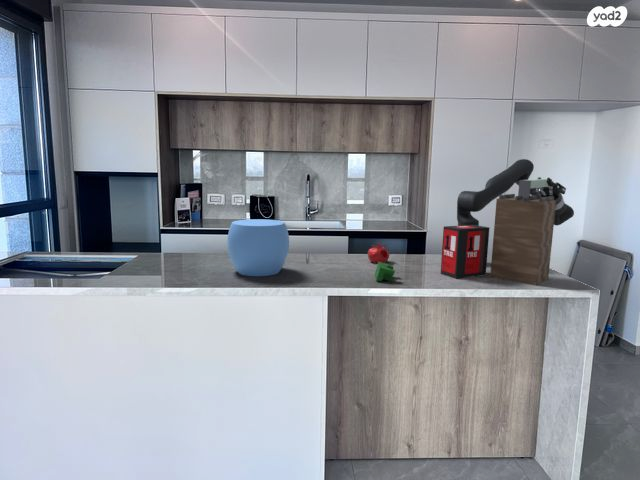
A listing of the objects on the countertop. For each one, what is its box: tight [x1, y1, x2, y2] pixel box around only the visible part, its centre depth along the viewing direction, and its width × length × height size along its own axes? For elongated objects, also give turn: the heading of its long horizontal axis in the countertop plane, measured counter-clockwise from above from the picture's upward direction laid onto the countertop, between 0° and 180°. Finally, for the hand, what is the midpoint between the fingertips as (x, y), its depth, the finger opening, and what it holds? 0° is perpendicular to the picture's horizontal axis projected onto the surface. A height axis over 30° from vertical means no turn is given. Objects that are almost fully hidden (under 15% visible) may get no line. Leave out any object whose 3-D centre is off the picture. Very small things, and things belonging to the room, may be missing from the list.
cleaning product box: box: [440, 225, 491, 280], centre depth 192 cm, size 16×9×20 cm, turn 117°
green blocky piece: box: [374, 262, 396, 283], centre depth 183 cm, size 12×6×9 cm, turn 170°
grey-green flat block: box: [517, 178, 550, 197], centre depth 185 cm, size 26×4×6 cm, turn 137°
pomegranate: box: [367, 241, 390, 264], centre depth 213 cm, size 10×10×9 cm
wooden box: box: [489, 193, 556, 286], centre depth 186 cm, size 14×18×34 cm
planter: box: [226, 218, 290, 277], centre depth 190 cm, size 25×25×20 cm
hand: (543, 179), depth 190 cm, fingers closed on grey-green flat block, 3 cm apart
